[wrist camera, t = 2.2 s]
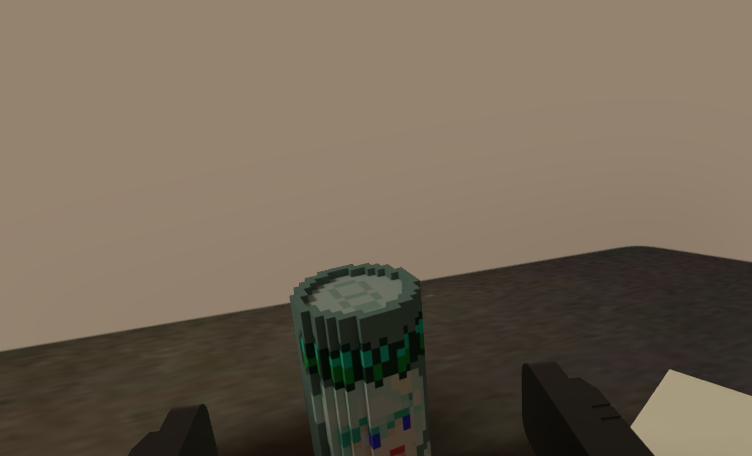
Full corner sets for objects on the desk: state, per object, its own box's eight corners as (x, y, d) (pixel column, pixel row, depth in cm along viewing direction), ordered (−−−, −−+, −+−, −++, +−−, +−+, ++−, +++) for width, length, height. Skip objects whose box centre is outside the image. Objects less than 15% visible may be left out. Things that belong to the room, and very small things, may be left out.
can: (350, 594, 24) (313, 332, 20) (315, 503, 30) (279, 281, 25) (453, 541, 26) (441, 295, 22) (403, 466, 32) (385, 255, 27)
